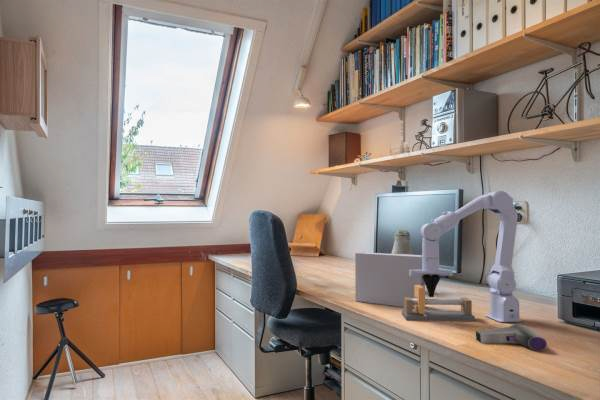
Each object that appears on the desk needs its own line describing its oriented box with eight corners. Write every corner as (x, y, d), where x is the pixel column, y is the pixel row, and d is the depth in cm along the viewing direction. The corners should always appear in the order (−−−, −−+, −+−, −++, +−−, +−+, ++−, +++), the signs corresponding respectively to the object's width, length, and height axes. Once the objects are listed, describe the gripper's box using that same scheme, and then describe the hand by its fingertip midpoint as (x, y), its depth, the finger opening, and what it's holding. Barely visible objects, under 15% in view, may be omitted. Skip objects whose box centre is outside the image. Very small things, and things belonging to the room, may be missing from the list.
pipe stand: (466, 315, 154) (466, 296, 154) (474, 321, 146) (474, 301, 146) (401, 314, 155) (401, 295, 155) (406, 320, 147) (406, 300, 147)
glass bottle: (390, 291, 197) (389, 230, 198) (392, 287, 207) (392, 229, 208) (412, 293, 194) (411, 230, 195) (413, 289, 204) (413, 229, 204)
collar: (420, 309, 154) (420, 285, 155) (424, 313, 147) (424, 288, 148) (414, 309, 154) (414, 284, 155) (418, 313, 147) (418, 288, 148)
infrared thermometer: (474, 342, 127) (525, 338, 127) (493, 356, 114) (549, 352, 115) (473, 326, 127) (524, 323, 127) (492, 339, 114) (548, 335, 115)
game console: (360, 298, 182) (360, 251, 183) (425, 306, 168) (425, 255, 169) (355, 301, 177) (355, 252, 178) (421, 309, 163) (421, 256, 164)
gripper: (448, 256, 155) (448, 294, 154) (407, 256, 155) (407, 294, 155) (454, 258, 148) (454, 298, 147) (411, 258, 148) (411, 298, 148)
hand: (430, 296), depth 151 cm, fingers closed
